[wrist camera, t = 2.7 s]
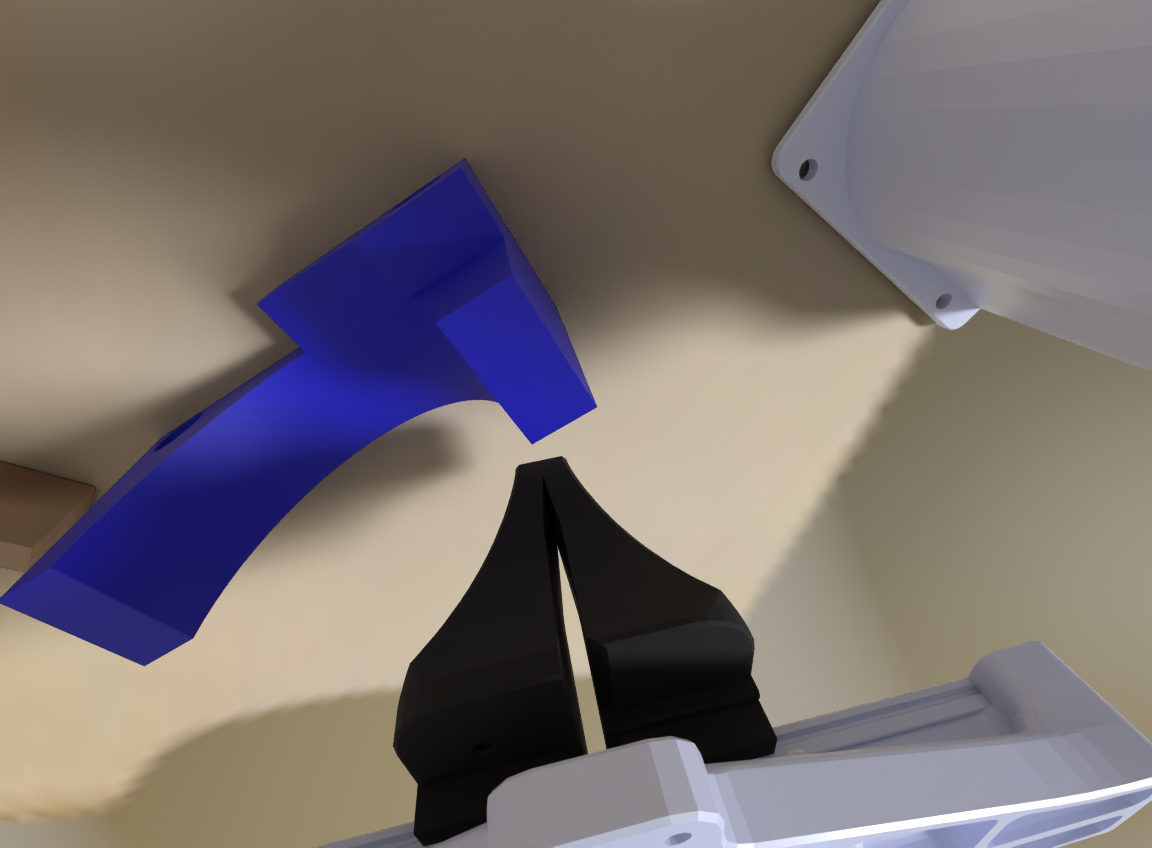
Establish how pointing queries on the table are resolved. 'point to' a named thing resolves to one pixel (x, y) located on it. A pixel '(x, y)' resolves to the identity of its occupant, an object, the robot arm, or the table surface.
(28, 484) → the frame
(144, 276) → the table surface
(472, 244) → the cable clip
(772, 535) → the table surface
